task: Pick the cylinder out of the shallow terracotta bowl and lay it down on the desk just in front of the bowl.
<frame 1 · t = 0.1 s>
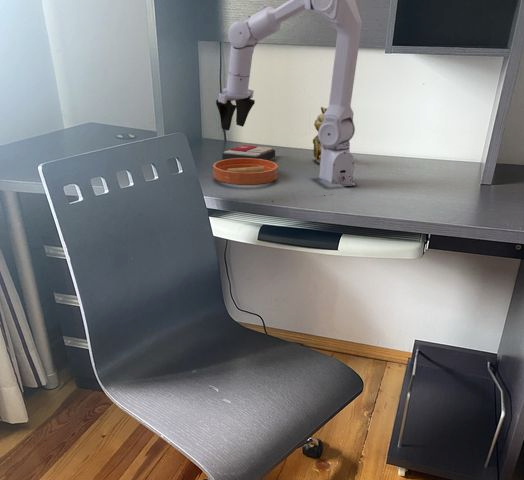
hand: (232, 127, 150), 10 cm above the table, tool pointing down, fingers open, 7 cm apart
cylinder: (245, 176, 141), point 1 cm above the table, touching bowl
bowl: (245, 180, 142), on the table
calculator: (249, 163, 159), on the table
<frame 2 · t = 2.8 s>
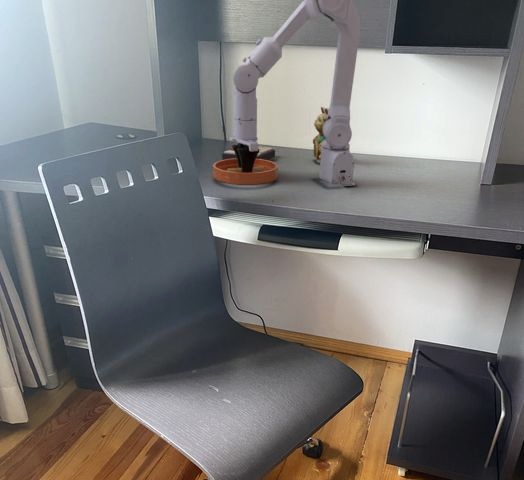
hand: (245, 174, 141), 2 cm above the table, tool pointing down, fingers closed on cylinder, 2 cm apart
cylinder: (245, 176, 141), point 1 cm above the table, touching bowl, gripper
everything else where it was.
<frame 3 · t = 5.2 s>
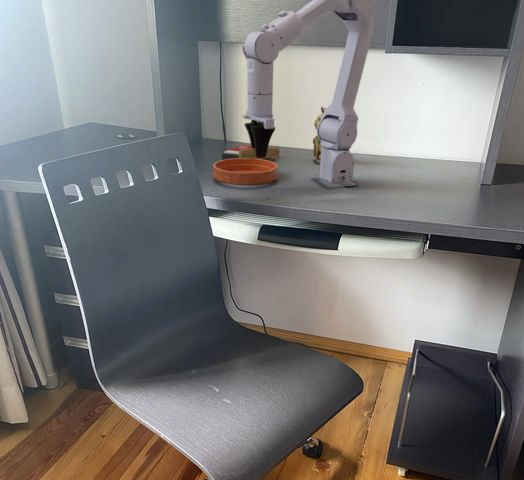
hand: (259, 156, 128), 9 cm above the table, tool pointing down, fingers closed on cylinder, 2 cm apart
cylinder: (259, 157, 129), point 8 cm above the table, touching gripper
everything else where it was.
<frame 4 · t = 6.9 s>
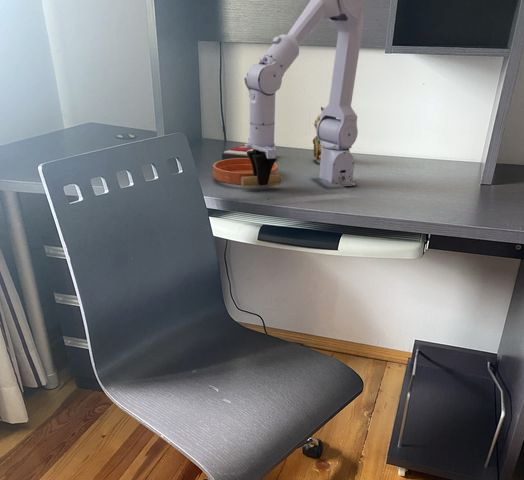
hand: (261, 183, 130), 3 cm above the table, tool pointing down, fingers closed on cylinder, 2 cm apart
cylinder: (261, 185, 130), point 2 cm above the table, touching gripper
everything else where it was.
when the fingers open (0 cm above the table, at t = 7.9 s): cylinder stays where it is, on the table.
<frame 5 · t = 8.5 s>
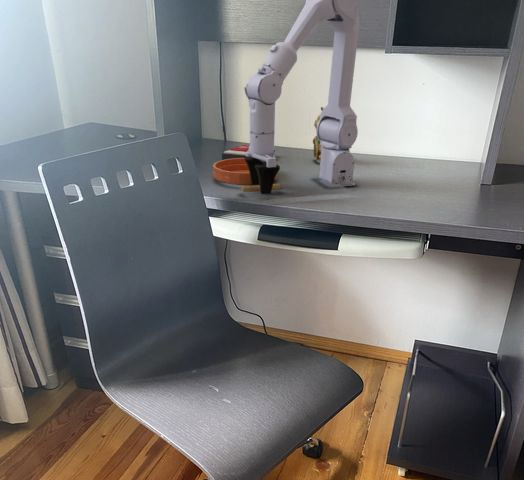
hand: (261, 191, 131), 1 cm above the table, tool pointing down, fingers open, 6 cm apart
cylinder: (260, 194, 131), on the table
everything else where it was.
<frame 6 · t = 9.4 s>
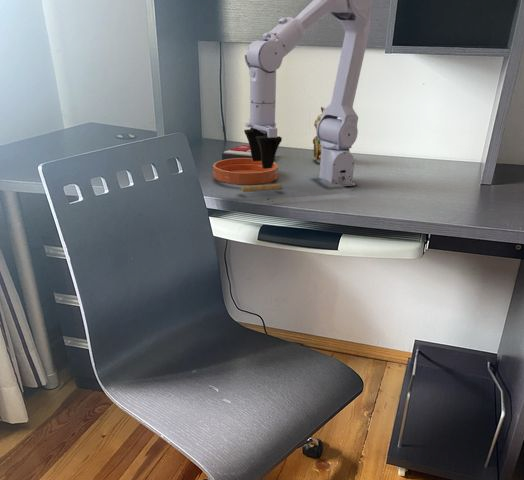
hand: (262, 164, 128), 7 cm above the table, tool pointing down, fingers open, 7 cm apart
nothing on the table moved.
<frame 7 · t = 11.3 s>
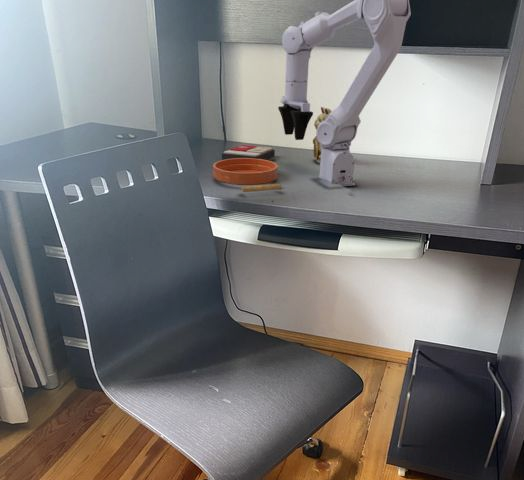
hand: (294, 136, 146), 9 cm above the table, tool pointing down, fingers open, 7 cm apart
nothing on the table moved.
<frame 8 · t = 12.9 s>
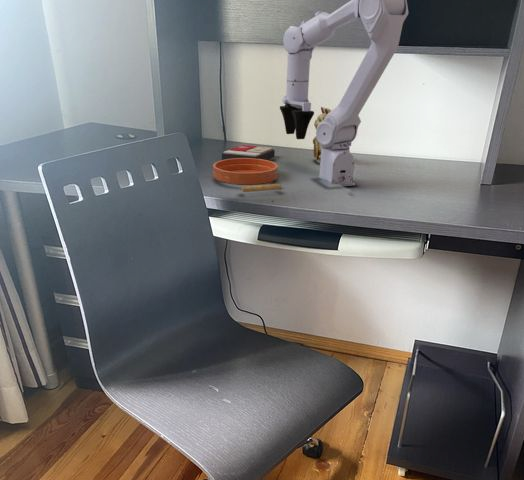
hand: (295, 136, 146), 9 cm above the table, tool pointing down, fingers open, 7 cm apart
nothing on the table moved.
at the end: cylinder inside the target area (0.3 cm from its centre), on the table; cylinder touching table; the gripper is holding nothing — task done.
